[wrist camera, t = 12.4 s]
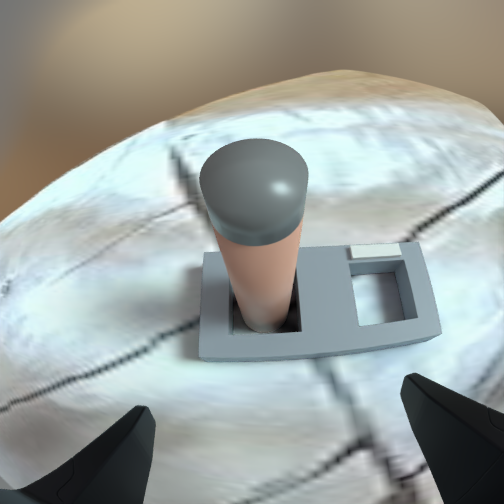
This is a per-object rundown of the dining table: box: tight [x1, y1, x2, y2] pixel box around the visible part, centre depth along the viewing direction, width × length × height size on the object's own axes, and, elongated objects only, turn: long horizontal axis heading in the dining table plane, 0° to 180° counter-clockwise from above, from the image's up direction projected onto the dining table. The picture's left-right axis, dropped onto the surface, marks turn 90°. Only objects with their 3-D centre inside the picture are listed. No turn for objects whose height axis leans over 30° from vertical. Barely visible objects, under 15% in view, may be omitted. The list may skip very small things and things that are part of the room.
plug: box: [199, 139, 308, 333], centre depth 17 cm, size 4×4×16 cm
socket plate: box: [199, 242, 442, 362], centre depth 22 cm, size 20×9×3 cm, turn 91°
